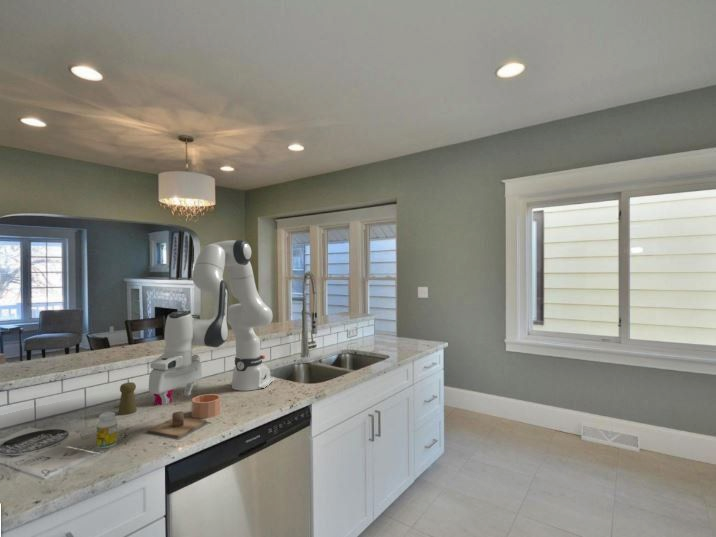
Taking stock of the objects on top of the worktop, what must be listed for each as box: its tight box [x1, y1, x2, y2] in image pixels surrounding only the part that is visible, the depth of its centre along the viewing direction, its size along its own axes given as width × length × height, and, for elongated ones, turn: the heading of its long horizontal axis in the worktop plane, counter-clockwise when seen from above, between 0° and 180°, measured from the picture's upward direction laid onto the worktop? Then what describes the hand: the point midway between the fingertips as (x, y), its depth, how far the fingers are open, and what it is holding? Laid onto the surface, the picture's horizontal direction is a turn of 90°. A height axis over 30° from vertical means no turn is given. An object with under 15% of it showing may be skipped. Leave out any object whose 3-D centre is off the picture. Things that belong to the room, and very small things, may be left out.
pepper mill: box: [153, 353, 174, 406], centre depth 154 cm, size 7×7×20 cm
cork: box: [117, 381, 137, 416], centre depth 142 cm, size 6×6×11 cm
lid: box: [146, 411, 208, 438], centre depth 127 cm, size 13×13×5 cm
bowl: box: [191, 393, 222, 420], centre depth 141 cm, size 10×10×6 cm
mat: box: [142, 421, 212, 441], centre depth 127 cm, size 15×15×1 cm
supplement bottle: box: [95, 411, 118, 449], centre depth 115 cm, size 5×5×10 cm
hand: (176, 399), depth 127 cm, fingers open, 8 cm apart
